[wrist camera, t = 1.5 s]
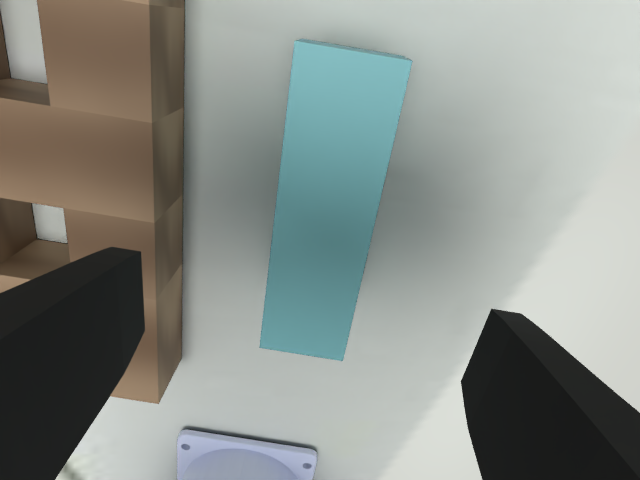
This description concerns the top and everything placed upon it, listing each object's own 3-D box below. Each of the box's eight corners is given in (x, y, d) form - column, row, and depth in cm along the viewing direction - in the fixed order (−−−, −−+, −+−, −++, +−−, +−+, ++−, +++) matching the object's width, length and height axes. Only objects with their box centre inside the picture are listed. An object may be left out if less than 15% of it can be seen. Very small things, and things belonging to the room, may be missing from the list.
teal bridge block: (344, 285, 20) (342, 360, 15) (279, 274, 20) (259, 347, 15) (394, 50, 15) (412, 60, 11) (310, 36, 15) (294, 40, 11)
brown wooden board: (181, 358, 22) (158, 403, 20) (-11, 327, 22) (-60, 369, 20) (186, -217, 12) (142, -282, 10) (-159, -278, 12) (-300, -362, 10)
